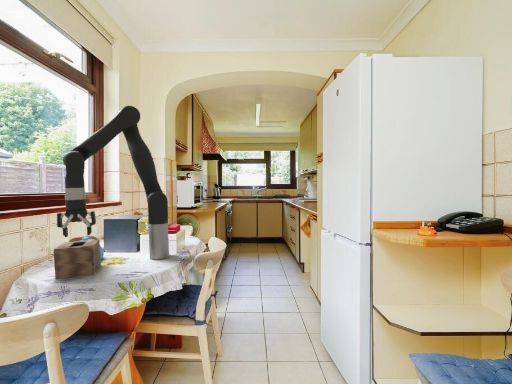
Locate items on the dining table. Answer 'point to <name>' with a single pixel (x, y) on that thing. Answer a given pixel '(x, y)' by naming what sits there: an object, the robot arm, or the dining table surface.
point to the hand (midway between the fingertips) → (77, 235)
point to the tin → (81, 238)
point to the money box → (77, 258)
